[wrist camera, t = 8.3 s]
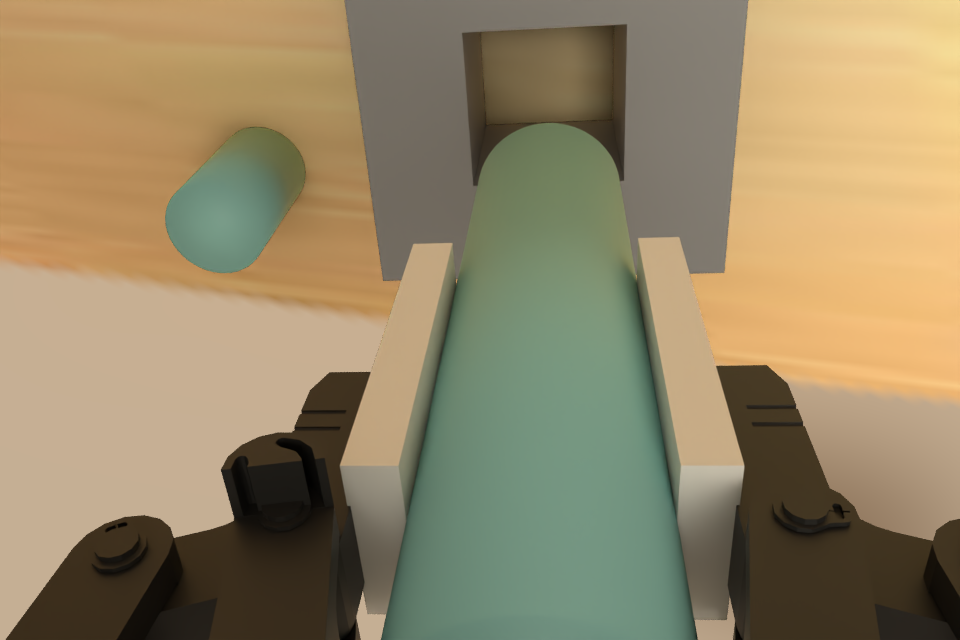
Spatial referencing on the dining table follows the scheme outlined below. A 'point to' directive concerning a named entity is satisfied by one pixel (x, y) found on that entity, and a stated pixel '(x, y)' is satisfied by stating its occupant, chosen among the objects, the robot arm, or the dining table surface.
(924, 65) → the dining table surface
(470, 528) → the long pin
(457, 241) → the hole block
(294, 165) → the short pin
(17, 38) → the dining table surface
